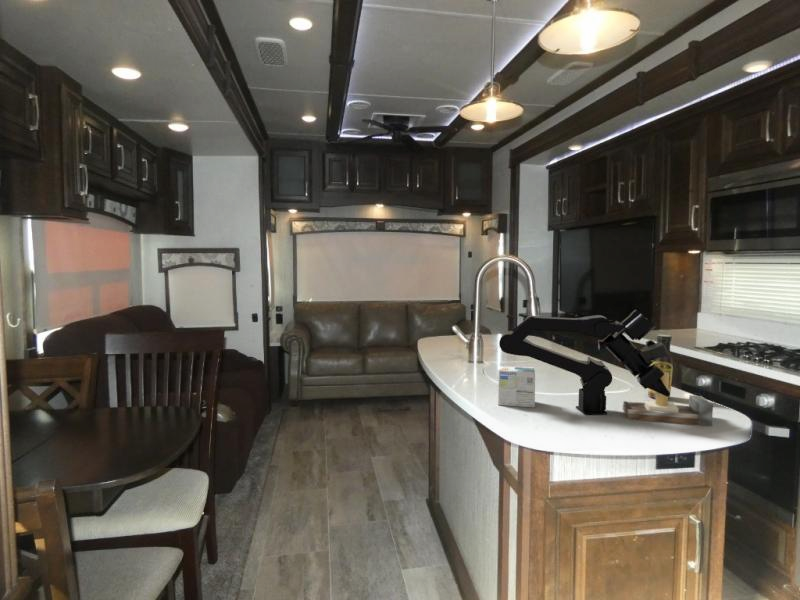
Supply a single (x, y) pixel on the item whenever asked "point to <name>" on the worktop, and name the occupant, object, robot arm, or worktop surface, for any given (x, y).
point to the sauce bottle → (664, 362)
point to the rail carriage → (661, 399)
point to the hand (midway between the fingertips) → (667, 393)
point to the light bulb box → (516, 386)
